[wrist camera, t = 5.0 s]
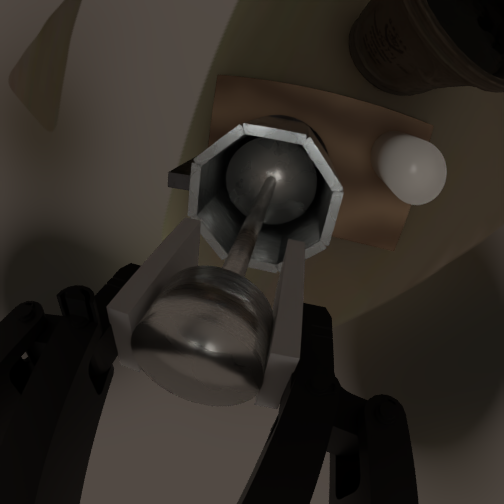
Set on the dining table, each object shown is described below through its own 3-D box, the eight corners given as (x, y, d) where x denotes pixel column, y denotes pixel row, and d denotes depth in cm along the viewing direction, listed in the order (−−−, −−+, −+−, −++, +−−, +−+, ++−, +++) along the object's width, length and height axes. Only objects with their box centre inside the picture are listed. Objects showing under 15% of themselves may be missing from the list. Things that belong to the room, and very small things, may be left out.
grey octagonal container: (217, 105, 29) (164, 110, 18) (338, 127, 28) (361, 143, 17) (206, 198, 34) (158, 250, 23) (316, 220, 33) (320, 286, 22)
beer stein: (380, 114, 27) (491, 127, 10) (323, 36, 24) (367, -55, 6) (468, 64, 22) (587, 58, 4) (419, -9, 19) (510, -71, 1)
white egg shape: (377, 124, 27) (396, 130, 21) (425, 140, 26) (453, 152, 20) (364, 175, 30) (379, 195, 24) (412, 189, 29) (434, 212, 23)
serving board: (221, 75, 28) (217, 74, 27) (428, 124, 27) (433, 125, 25) (205, 204, 36) (201, 209, 35) (391, 245, 35) (394, 251, 33)
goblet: (234, 128, 24) (57, 218, 6) (325, 146, 23) (384, 291, 6) (223, 211, 28) (106, 392, 10) (306, 228, 27) (292, 445, 10)
